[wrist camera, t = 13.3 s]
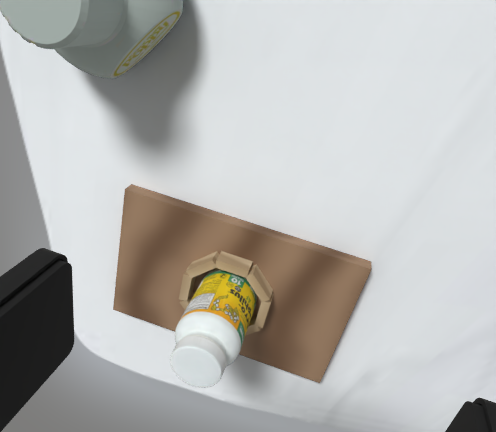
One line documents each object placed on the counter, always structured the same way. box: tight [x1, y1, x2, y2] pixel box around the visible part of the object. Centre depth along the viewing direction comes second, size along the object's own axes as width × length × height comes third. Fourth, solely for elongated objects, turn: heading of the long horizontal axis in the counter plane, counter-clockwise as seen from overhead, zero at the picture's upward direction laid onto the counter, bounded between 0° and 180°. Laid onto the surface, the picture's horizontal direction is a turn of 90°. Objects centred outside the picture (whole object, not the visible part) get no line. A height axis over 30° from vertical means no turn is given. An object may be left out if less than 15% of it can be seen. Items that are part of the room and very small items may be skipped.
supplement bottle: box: [170, 269, 257, 388], centre depth 35 cm, size 5×5×10 cm
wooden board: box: [113, 184, 371, 383], centre depth 39 cm, size 22×14×3 cm, turn 76°
